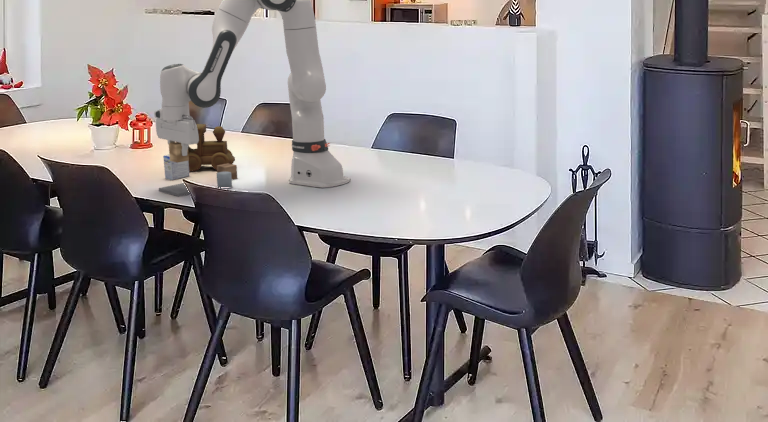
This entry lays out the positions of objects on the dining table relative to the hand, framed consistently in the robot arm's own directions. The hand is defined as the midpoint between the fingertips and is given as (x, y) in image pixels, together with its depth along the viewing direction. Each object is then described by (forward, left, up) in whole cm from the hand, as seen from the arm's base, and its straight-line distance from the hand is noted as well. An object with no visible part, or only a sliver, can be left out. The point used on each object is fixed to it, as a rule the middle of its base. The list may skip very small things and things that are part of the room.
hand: (178, 154), depth 294 cm
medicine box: (+19, -11, -13) cm, 25 cm away
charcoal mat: (0, 0, -13) cm, 13 cm away
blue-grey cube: (-7, -13, -13) cm, 19 cm away
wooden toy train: (+23, -27, -13) cm, 37 cm away
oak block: (0, 0, -2) cm, 2 cm away
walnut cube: (+3, -21, -13) cm, 25 cm away
